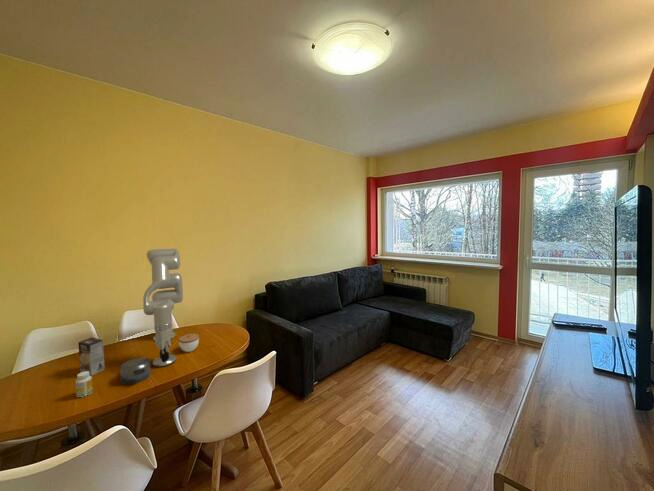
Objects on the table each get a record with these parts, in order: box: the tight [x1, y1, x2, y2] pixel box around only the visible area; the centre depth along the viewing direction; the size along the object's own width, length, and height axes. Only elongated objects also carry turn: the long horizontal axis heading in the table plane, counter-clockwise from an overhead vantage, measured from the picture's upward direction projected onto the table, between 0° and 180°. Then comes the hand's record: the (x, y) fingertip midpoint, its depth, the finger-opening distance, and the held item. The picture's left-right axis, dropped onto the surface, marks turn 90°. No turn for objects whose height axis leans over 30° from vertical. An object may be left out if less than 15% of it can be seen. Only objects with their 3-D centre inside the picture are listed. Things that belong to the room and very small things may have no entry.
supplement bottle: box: [75, 371, 93, 398], centre depth 120 cm, size 5×5×10 cm
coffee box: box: [78, 336, 106, 376], centre depth 138 cm, size 9×6×16 cm
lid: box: [152, 351, 177, 367], centre depth 147 cm, size 11×11×6 cm
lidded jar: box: [178, 333, 200, 353], centre depth 162 cm, size 11×11×9 cm
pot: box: [119, 357, 152, 385], centre depth 133 cm, size 16×12×7 cm
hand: (164, 358), depth 147 cm, fingers closed on lid, 2 cm apart
